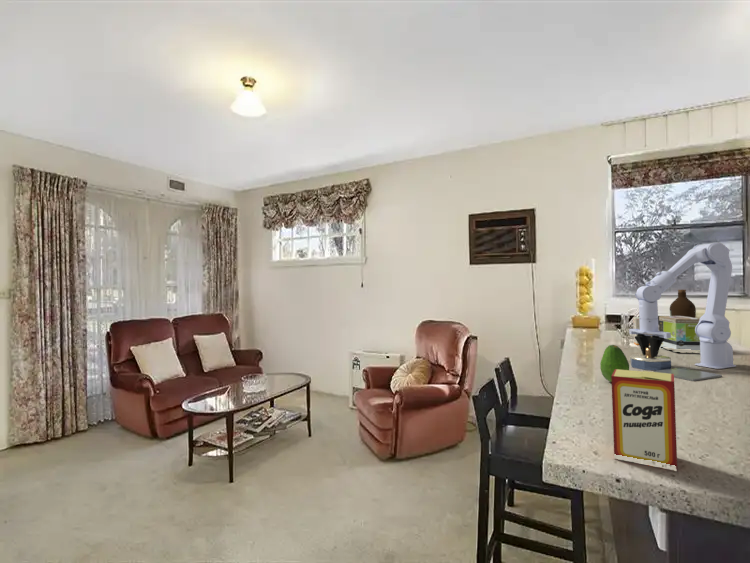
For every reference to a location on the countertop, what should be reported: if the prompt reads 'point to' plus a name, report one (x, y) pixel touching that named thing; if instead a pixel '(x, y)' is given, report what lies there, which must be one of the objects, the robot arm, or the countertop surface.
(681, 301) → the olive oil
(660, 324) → the tea box
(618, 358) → the avocado
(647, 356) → the lid
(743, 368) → the countertop surface
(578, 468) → the countertop surface
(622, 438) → the baking soda box
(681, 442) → the countertop surface
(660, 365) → the tin
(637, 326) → the supplement box
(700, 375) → the coaster
